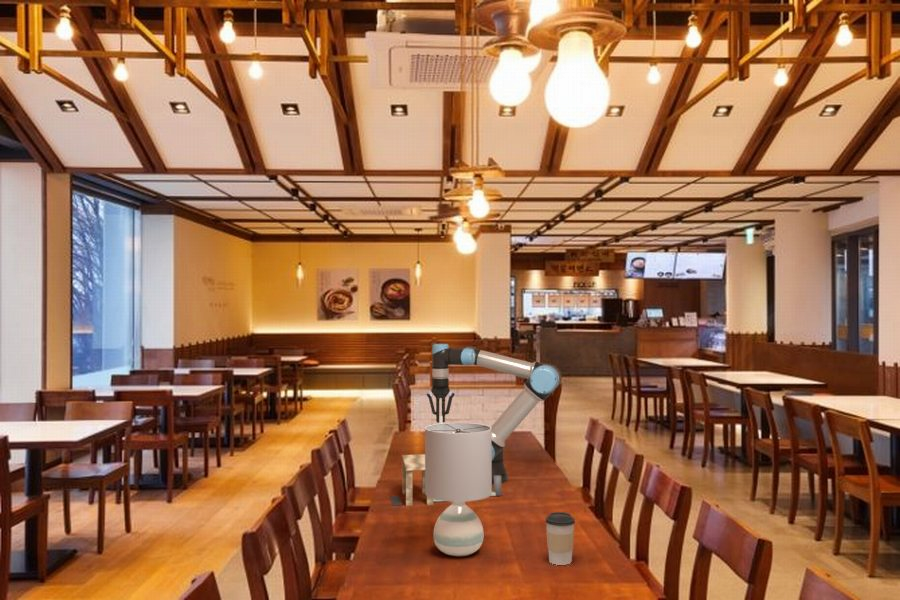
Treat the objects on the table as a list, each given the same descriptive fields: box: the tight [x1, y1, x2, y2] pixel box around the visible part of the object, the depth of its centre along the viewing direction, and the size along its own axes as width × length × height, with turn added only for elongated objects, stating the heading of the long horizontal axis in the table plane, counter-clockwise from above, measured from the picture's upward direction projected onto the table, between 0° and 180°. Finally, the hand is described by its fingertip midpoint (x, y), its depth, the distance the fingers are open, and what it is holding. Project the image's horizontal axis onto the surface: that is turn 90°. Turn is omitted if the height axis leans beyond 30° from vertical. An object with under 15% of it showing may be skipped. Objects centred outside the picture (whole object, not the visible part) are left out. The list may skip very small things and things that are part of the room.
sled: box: [433, 475, 502, 503], centre depth 307 cm, size 31×13×8 cm, turn 98°
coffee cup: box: [545, 511, 576, 566], centre depth 227 cm, size 9×9×15 cm
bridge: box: [401, 453, 434, 507], centre depth 304 cm, size 11×24×16 cm, turn 8°
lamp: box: [424, 422, 493, 557], centre depth 237 cm, size 22×22×40 cm
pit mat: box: [389, 495, 403, 506], centre depth 301 cm, size 4×14×1 cm, turn 8°
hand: (440, 429), depth 331 cm, fingers closed
